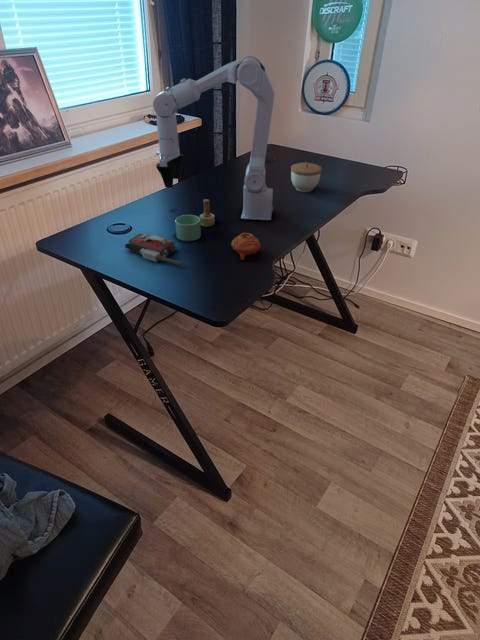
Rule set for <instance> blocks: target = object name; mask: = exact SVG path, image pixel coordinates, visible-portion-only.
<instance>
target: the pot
mask: <svg viewBox="0 0 480 640" xmlns="http://www.w3.org/2000/svg"><path fill="white" fill-rule="evenodd" d="M230 243H231V247H232V249H233V251H234V252H235V253H237V254H239V256H240V260H241V261H244V260H245V258H246V256H251V255H257V253H258V251H259V250H260V248H261V247H262V244H261V242H260V241H259V239H258V238H257V237H255V235H254V234H252V233H250V232H242V233H241V234H239V235H237V236H236V237H234V238H233V239H232V241H231V242H230Z"/></svg>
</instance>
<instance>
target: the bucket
mask: <svg viewBox="0 0 480 640" xmlns="http://www.w3.org/2000/svg"><path fill="white" fill-rule="evenodd" d="M174 225H175V235H176V238H177V239H178V240H179V241H182V242H192V241H193V242H194V241H197V240H198V239H200V238H201V237H202V225H201V223H200V216H198V215H194V214H183V215H179V216H177V217H176V218H175V219H174Z"/></svg>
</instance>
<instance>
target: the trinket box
mask: <svg viewBox="0 0 480 640" xmlns="http://www.w3.org/2000/svg"><path fill="white" fill-rule="evenodd" d="M322 171H323V169H322V166H321V165H318V164H316V163H312V162H307V161H305V162H297V163H294V164H292V165H291V166H290V180H291V183H292V186H293V187H294V188H295V190H296V191H298V192H300V193H310V192H312V191H314V189H315V188H316V187H317V186H318V184H319V183H320V180H321V175H322Z"/></svg>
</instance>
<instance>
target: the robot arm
mask: <svg viewBox="0 0 480 640" xmlns="http://www.w3.org/2000/svg"><path fill="white" fill-rule="evenodd" d="M224 83H231V84H235V85H236V84H237V83H239V84H240V85H241V86H242V87H243V88H245V89H247V90H248V91H250V92H251V94H252V95H253V96H254V97H255V98H256V100H257V103H256V111H255V119H254V126H253V135H252V143H251V149H250V150H251V151H250V159H249V163H248V164H247V166H246V168H245V176H244V180H243V183H244V184H243V193H242V194H243V198H242V200H243V201H242V202H243V203H242V204H243V205H242V207H243V208H242V212H241V215H240V219H241V220H255V221H272V216H273V215H272V214H273V212H274V206H273V199H274V189H273V188H271V187H268V186H267V184H266V176H267V175H266V174H267V169H266V166H265V165H266V157H267V149H268V142H269V135H270V128H271V121H272V115H273V107H274V102H275V101H274V100H275V88H274V87H273V84H272V81H271V79H270V77H269V75H268V73H267V70H266V67H265V65H264V64H263V63H262V62H261V61H260V60H259V58H257V57H256V56H254V55H247V56H245V57H243V58H242V59H236V60H234V61H231V62H228V63H226V64H225V65H223V66H221V67H219V68H217V69H216V70H214V71H211V72H210V73H208V74H207V75H204V76H202V77H201V78H199V79H197V80H194V79H192V78H188V79H186V78H185V77H184V78H182V79H180V82H179V83H178V84H176V85H174V86H172V87H170V86H167V87H166V88H165V90H164V91H161V92H160V93H159V94H157V95H156V96H155V97H154V99H153V101H152V108H153V111H154V112H155V115H156V116H155V117H156V129H157V139H158V148H159V150H157V151H156V153H155V155H156V156H159V162H158V163H156V164H155V167H156V168H155V169H156V170H157V171H158V172H159V174H160V176H161V179H162V181H163V184H164V187H165V188H168V189H169V188H170V189H171V188H173V185H174V180H179V179H180V174H181V167H182V162H183V159H184V156H185V155H184V153H181V152H180V145H179V133H178V121H177V114H176V110H181V109H183V108H185V107H187V106H188V105H191V104H194V103H195V102H197V101H199V100H200V98H201V94H202V93H204V92H206V91H209V90H210V89H213V88H215V87H218V86H219V85H221V84H224Z"/></svg>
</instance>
